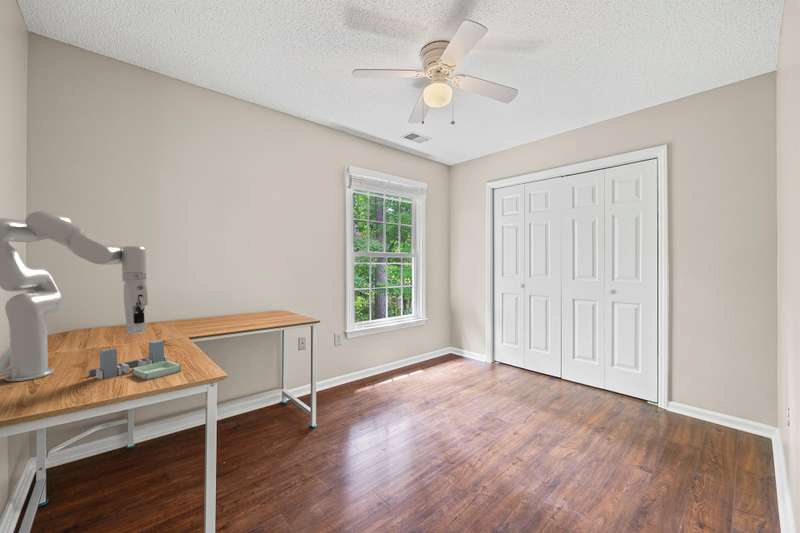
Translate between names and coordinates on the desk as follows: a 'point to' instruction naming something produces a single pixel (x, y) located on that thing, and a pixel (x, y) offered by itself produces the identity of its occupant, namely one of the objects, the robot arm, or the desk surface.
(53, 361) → the desk surface
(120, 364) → the clip block
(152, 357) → the fuse right
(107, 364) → the block
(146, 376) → the tray
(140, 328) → the skincare box
